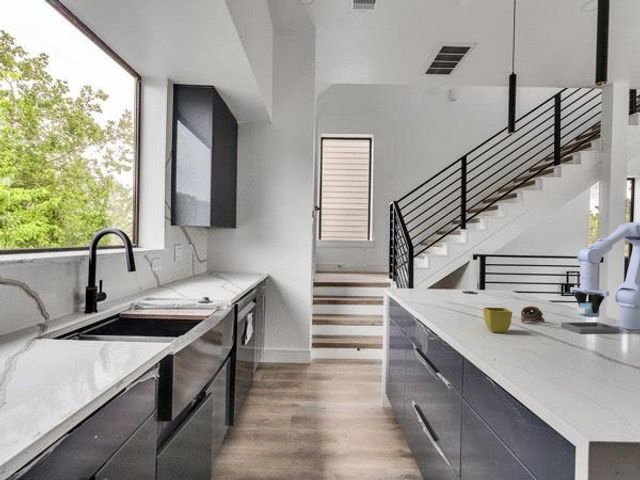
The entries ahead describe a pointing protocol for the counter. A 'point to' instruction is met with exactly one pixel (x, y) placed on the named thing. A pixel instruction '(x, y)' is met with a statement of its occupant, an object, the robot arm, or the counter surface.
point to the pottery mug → (531, 314)
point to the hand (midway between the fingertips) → (588, 311)
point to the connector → (586, 310)
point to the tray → (589, 327)
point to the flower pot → (497, 319)
